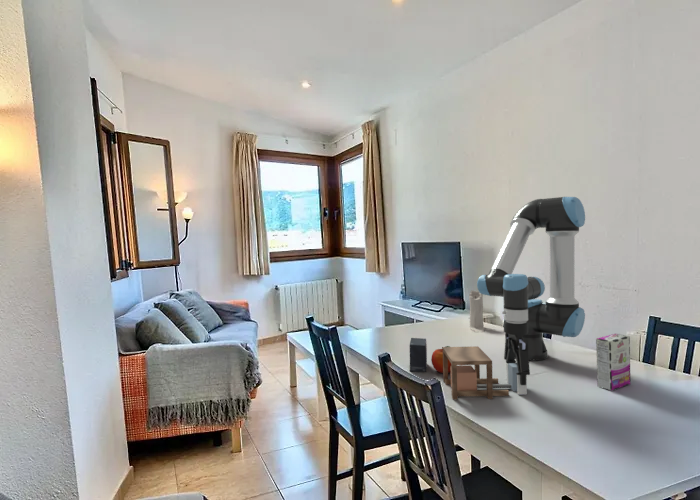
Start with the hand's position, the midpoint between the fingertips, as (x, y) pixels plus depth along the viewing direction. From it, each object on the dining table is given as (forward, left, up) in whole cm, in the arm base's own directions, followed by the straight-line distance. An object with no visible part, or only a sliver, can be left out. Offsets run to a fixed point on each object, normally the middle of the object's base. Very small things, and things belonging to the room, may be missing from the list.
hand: (516, 388), depth 136 cm
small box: (+29, -23, 0) cm, 37 cm away
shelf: (+13, 0, 0) cm, 14 cm away
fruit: (+20, -18, 0) cm, 27 cm away
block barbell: (+9, 0, 0) cm, 9 cm away
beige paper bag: (-10, -83, 0) cm, 84 cm away
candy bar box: (-32, -2, 0) cm, 32 cm away
